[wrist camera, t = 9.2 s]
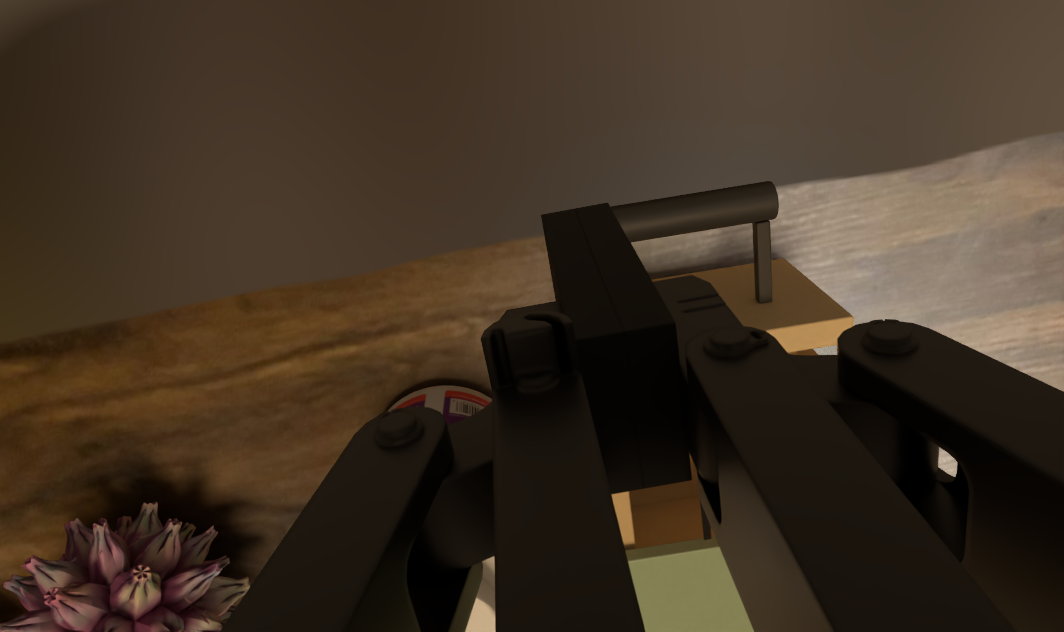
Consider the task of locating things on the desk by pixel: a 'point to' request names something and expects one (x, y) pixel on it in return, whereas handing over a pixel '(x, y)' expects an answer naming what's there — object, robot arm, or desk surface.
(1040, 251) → the desk surface
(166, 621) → the flower
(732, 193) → the drawer
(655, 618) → the cabinet
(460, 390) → the pill bottle
